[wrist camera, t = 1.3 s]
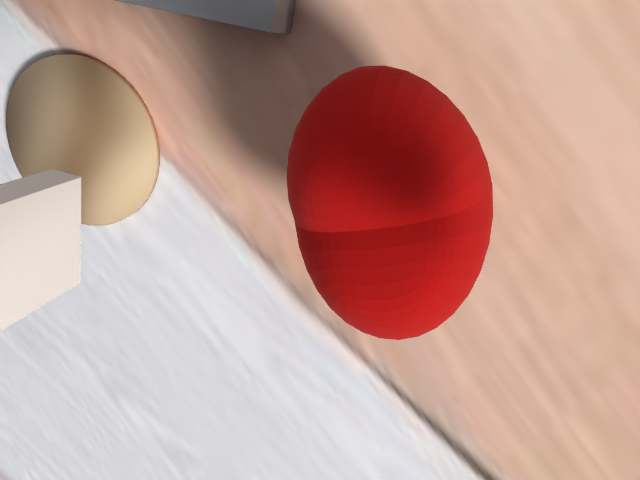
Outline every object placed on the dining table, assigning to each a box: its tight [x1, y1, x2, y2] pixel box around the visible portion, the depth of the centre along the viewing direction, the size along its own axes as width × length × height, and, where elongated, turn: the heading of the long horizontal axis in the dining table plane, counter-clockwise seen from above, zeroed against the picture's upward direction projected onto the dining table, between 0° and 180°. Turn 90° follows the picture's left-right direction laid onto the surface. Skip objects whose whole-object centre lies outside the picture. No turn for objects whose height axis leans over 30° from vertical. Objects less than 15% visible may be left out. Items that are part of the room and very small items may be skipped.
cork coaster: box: [6, 54, 160, 226], centre depth 28 cm, size 9×9×1 cm
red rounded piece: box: [287, 66, 493, 340], centre depth 20 cm, size 9×7×10 cm
